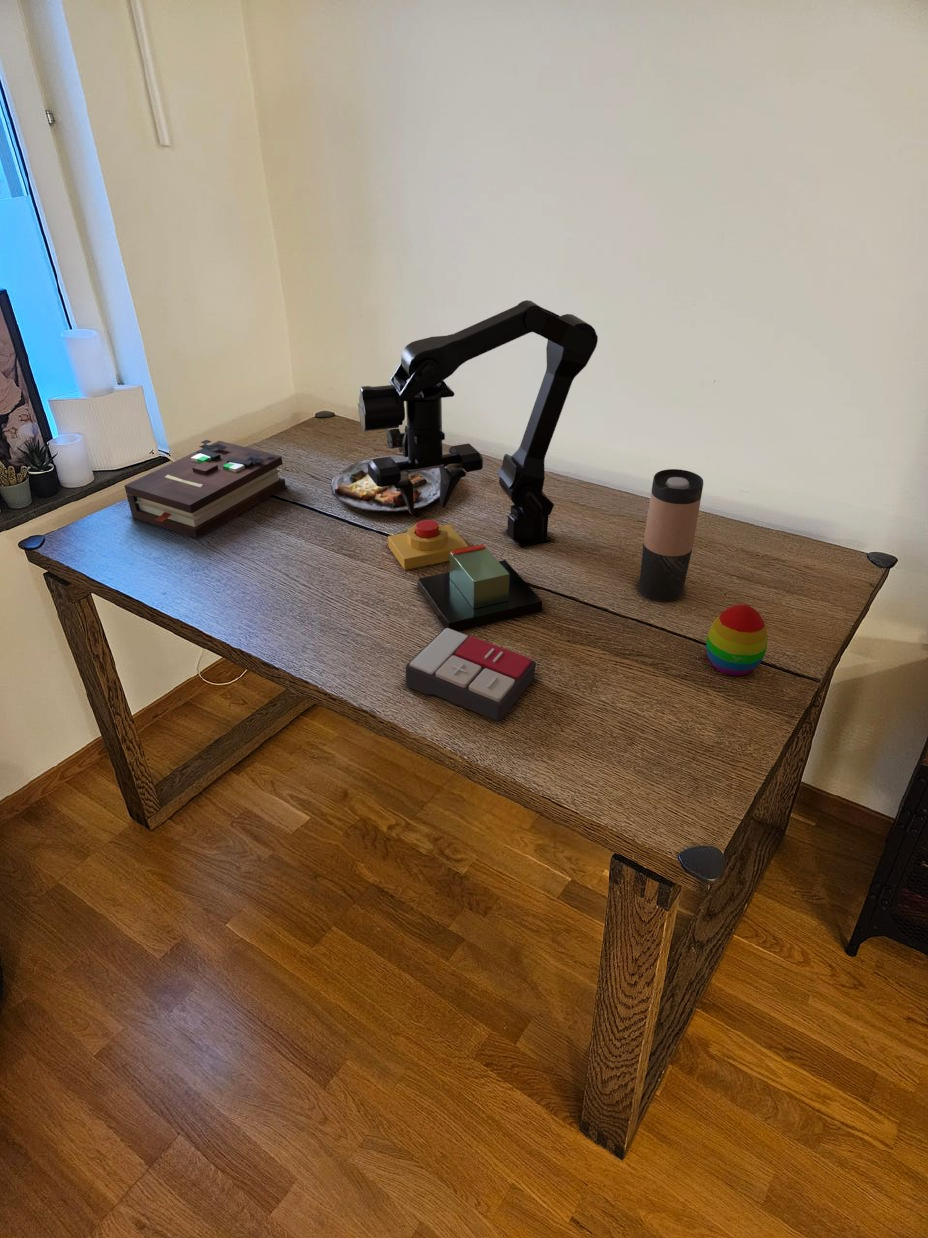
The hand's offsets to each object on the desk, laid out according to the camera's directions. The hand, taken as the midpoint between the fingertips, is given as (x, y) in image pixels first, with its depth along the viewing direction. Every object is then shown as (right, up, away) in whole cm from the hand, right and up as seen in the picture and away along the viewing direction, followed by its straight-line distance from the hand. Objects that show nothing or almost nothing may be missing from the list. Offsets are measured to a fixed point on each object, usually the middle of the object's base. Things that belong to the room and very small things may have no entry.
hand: (427, 510), depth 140 cm
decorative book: (-44, +4, +21) cm, 49 cm away
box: (+9, -14, -10) cm, 19 cm away
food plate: (-8, +7, +25) cm, 27 cm away
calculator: (+7, -28, -26) cm, 39 cm away
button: (0, -4, +3) cm, 5 cm away
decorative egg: (+45, -26, -23) cm, 57 cm away
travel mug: (+39, -14, -6) cm, 42 cm away
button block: (0, -7, +5) cm, 8 cm away
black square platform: (+9, -16, -8) cm, 20 cm away
